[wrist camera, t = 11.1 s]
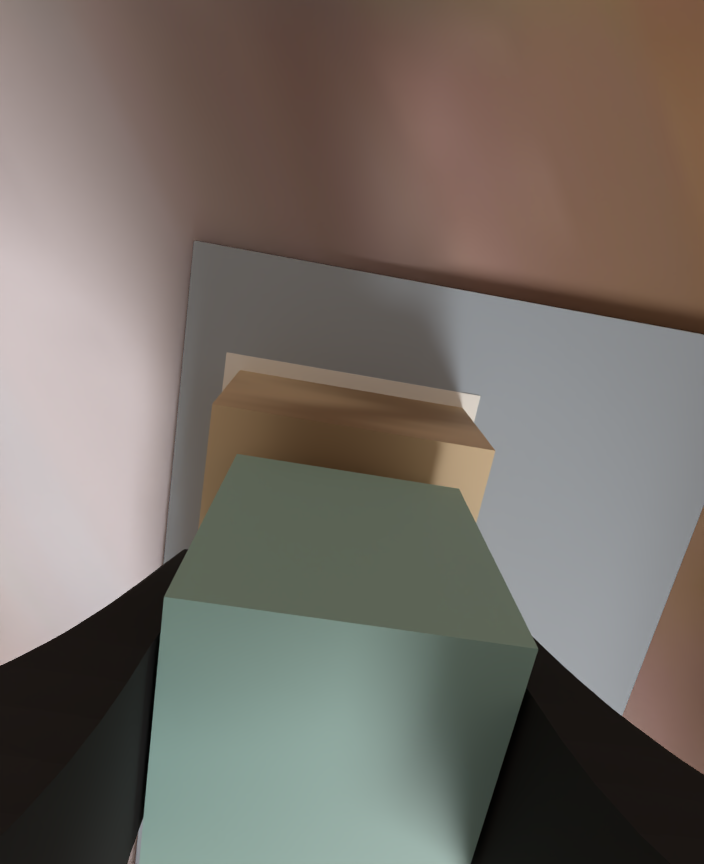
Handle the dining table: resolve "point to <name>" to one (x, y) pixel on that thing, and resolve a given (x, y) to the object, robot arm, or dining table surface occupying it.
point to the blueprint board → (486, 429)
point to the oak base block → (345, 435)
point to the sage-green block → (331, 676)
